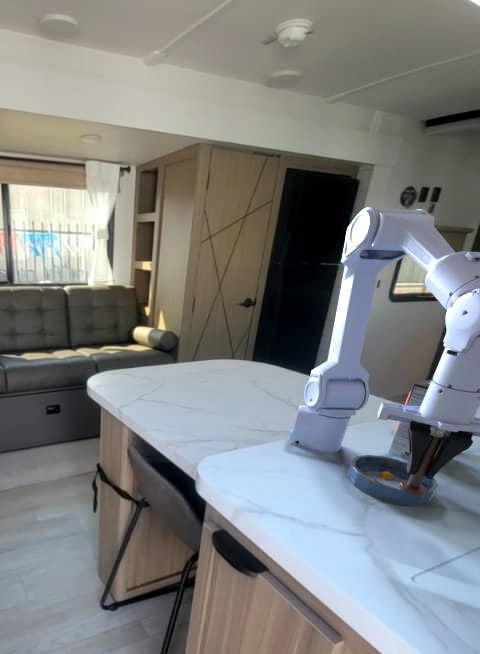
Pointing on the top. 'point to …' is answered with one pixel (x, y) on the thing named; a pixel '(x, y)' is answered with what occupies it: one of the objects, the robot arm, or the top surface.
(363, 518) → the top surface
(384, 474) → the bead
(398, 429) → the coffee box
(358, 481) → the bowl
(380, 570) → the top surface
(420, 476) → the stick
